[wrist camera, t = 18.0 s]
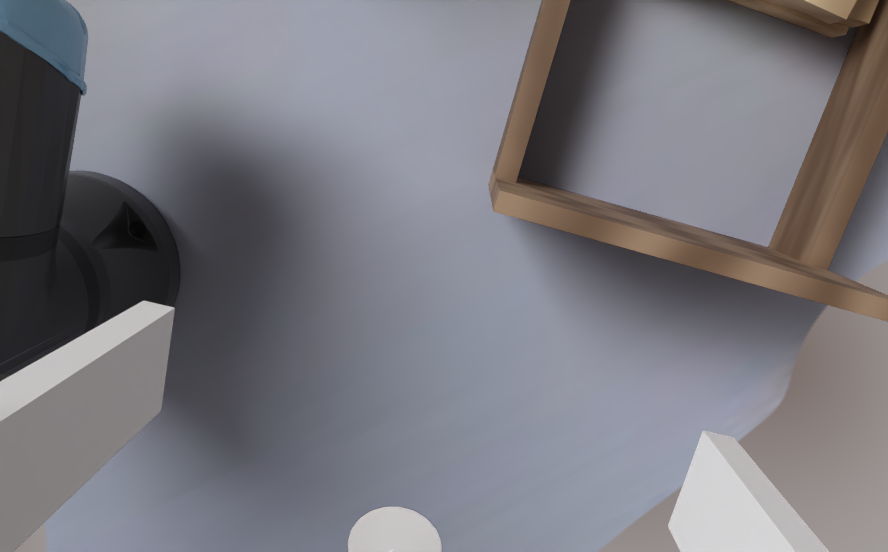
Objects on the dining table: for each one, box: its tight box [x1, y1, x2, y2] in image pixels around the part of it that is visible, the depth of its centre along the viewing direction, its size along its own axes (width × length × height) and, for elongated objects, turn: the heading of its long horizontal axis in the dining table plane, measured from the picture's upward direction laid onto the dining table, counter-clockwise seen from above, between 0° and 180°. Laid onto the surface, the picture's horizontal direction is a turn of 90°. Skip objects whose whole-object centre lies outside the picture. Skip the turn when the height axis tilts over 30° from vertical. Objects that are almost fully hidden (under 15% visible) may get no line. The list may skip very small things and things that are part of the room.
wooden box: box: [489, 0, 888, 321], centre depth 40 cm, size 24×22×15 cm
